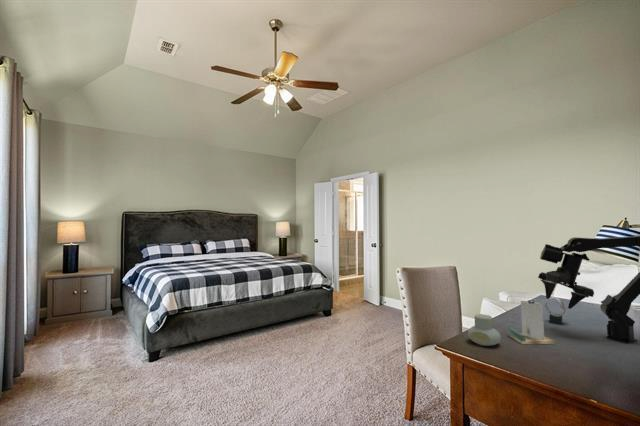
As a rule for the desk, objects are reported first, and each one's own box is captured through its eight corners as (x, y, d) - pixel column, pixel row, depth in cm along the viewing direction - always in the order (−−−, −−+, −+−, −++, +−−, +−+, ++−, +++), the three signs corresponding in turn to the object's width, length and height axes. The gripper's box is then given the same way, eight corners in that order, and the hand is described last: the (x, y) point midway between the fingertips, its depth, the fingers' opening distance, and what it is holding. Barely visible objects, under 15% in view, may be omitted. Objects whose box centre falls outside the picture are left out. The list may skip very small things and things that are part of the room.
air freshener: (504, 344, 114) (502, 316, 114) (497, 350, 108) (495, 321, 108) (473, 337, 122) (471, 311, 122) (465, 342, 116) (463, 315, 116)
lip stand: (538, 335, 122) (538, 327, 122) (555, 344, 113) (554, 335, 113) (507, 335, 122) (507, 327, 123) (521, 343, 113) (521, 335, 114)
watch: (567, 325, 133) (566, 300, 134) (544, 322, 138) (543, 297, 139) (568, 322, 137) (566, 297, 138) (546, 319, 143) (544, 295, 143)
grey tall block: (535, 334, 120) (533, 299, 121) (544, 339, 115) (542, 302, 116) (522, 334, 120) (520, 299, 121) (530, 339, 115) (528, 302, 116)
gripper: (534, 257, 131) (523, 291, 133) (579, 272, 114) (566, 311, 115) (553, 261, 134) (542, 295, 136) (600, 276, 116) (587, 315, 118)
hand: (558, 303), depth 126 cm, fingers open, 9 cm apart
